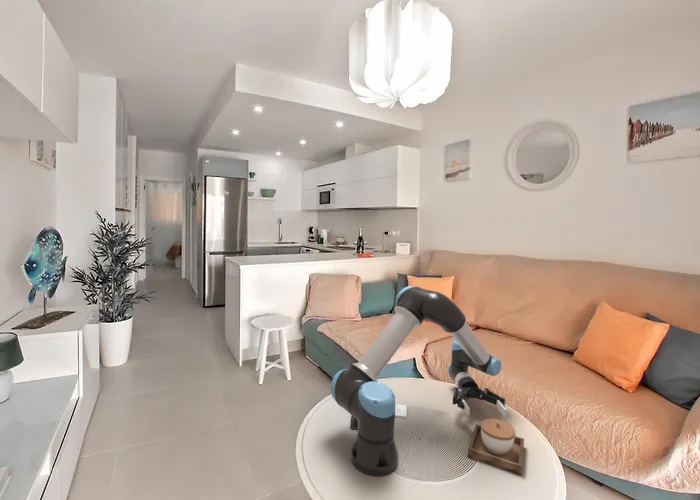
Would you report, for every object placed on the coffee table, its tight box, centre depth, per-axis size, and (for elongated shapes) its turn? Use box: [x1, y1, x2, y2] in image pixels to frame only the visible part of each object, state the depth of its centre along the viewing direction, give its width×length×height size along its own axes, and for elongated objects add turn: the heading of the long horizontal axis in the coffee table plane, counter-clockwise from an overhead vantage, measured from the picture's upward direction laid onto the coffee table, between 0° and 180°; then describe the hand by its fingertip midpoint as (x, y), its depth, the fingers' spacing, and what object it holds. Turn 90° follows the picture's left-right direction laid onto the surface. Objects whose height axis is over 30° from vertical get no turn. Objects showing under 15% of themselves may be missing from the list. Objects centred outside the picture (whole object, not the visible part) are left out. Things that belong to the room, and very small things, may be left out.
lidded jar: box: [480, 418, 516, 455], centre depth 115 cm, size 11×11×9 cm
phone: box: [349, 415, 358, 431], centre depth 133 cm, size 8×1×15 cm
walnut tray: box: [467, 423, 525, 477], centre depth 116 cm, size 16×16×3 cm
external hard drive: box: [395, 403, 408, 419], centre depth 139 cm, size 2×8×12 cm
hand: (487, 412), depth 124 cm, fingers open, 13 cm apart
